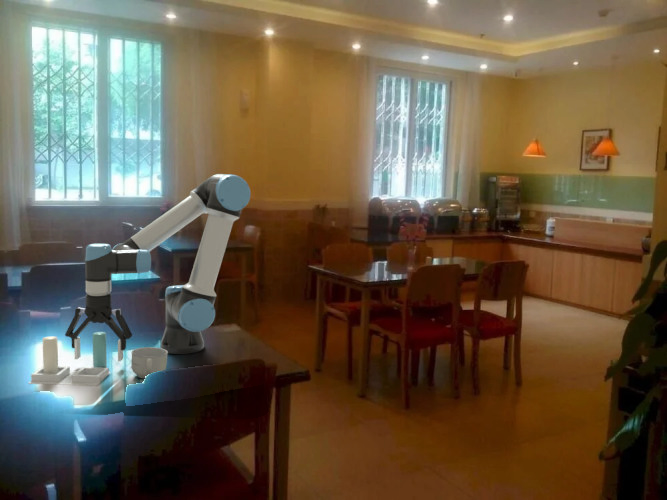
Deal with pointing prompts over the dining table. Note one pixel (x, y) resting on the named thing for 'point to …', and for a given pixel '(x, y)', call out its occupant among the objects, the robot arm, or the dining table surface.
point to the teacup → (148, 360)
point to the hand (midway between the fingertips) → (99, 359)
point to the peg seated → (50, 355)
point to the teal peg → (99, 350)
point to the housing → (71, 376)
